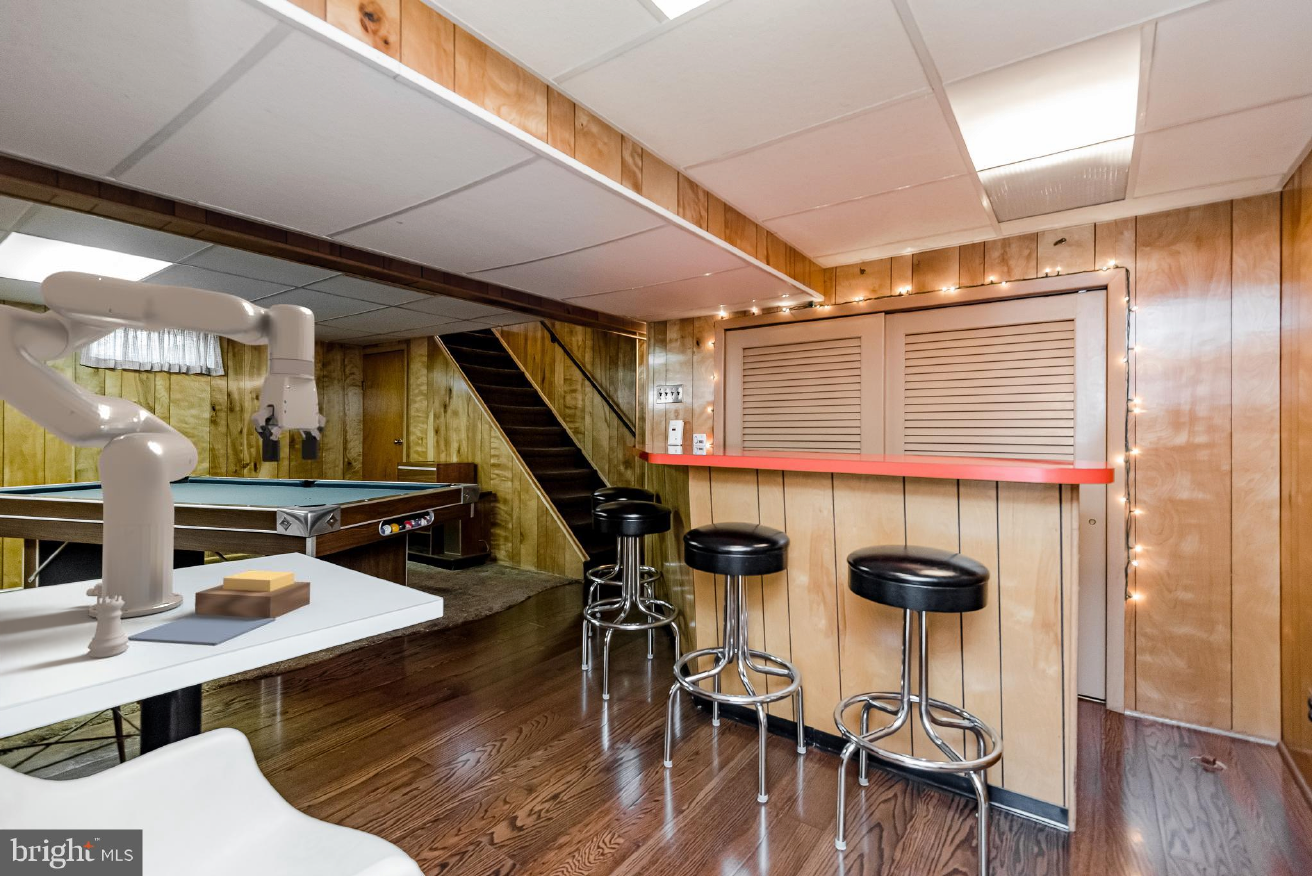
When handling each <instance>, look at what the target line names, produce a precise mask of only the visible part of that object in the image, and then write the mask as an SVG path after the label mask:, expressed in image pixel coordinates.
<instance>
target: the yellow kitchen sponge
mask: <svg viewBox="0 0 1312 876" xmlns="http://www.w3.org/2000/svg"><path fill="white" fill-rule="evenodd" d="M222 581H223V582H222V583H223V584H222V585H223V589H232V590H252V591H273V590H276V589H279V588H281V587H284V586H287V585H290V584H293V583H294V582H295V571H294V572H293V571H291V572H290V571H274V570H273V571H272V570H267V571H266V570H247V571H243V572H240V573H236V574H233V575H228V576H226V577H223V580H222Z"/></svg>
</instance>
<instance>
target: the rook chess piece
mask: <svg viewBox="0 0 1312 876" xmlns="http://www.w3.org/2000/svg"><path fill="white" fill-rule="evenodd" d="M124 603H125V602H124V601H123V600H121V596H118V598H117V596H112V599H109V597H108V596H107V597H104V600H102V598H99V599H98V600H97V599H96V603H95V604H96V605H95V604H94V605H95V606H94V608H95V609H96V610H97V611H98V615H97V616H96V617H95V619H97V625H96V628H95V629H96V630H95V634H94V636H93V637H92V640H91V641H90V642H88V643H89V644H88V646H87V649H88V650H89V651H88V652H87V653H86V655H87V656H88V657H89V658H91V659H105V658H111V657H117V656H119V655H121V654H124V653H125V652H126V651H128V649H129V648H130V645H128V643H129V641H130V640H128V637H129V636H126V633H125V632H124V631H123V628H122V621H121V618H120V616H121V615H122V612H121V611H120V608H121V607H122V606H123V604H124Z"/></svg>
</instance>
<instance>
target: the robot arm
mask: <svg viewBox="0 0 1312 876" xmlns="http://www.w3.org/2000/svg"><path fill="white" fill-rule="evenodd" d="M39 295H40V297H41V300H42V301H43V304H44V305H45V306H46V307H47V308H49V310H47V311H45V312H43V313H38V312H36V311H31V310H27V309H23V308H21V307H20V308H19V307H15V306H11V305H6V304H1V303H0V400H2V401H3V402H5V403H7V404H8V405H9V406H11V407H12V408H13V409H15V410H17V411H18V412H19V413H20V414H22V415H24V416H25V417H26V418H28V419H30V420H31V421H33V423H36V424H37V425H39V426H40V427H42V428H43V429H44V430H46V431H47V432H49V433H51V434H52V435H53V436H55V437H56V438H57V439H59V440H61V442H64V443H66V444H68V445H71V446H73V447H78V448H102V449H101V451H100V453H99V455H98V461H97V471H98V476H99V481H100V485H101V491H102V501H103V502H102V504H103V506H102V507H103V509H102V510H103V511H102V513H103V514H102V517H103V518H102V519H103V520H102V525H103V527H102V529H103V530H102V531H103V532H102V538H103V539H102V570H101V571H102V572H101V573H102V576H101V582H98V583H96V584H95V585H94V586H93V588H89V589H86V591H85V592H86V593H85V594H86V596H88V597H96V601H97V600H98V599H99V598H102V600H104V597H107V596H108V597H109V599H112V596H117V598H118V596H121V600H123V601H124V602H125V603H124V604H123V606H122V607H121V608H120V611H121V612H122V615H121V616H120V619H122V618H131V617H132V618H133V617H134V618H135V617H141V616H146V615H147V616H148V615H151V614H156V613H161V612H165V611H168V610H172V609H175V608H177V607H179V606H181V605H182V604H183V603H184V596H183V595H182V594H180V593H175V592H174V593H173V586H174V585H173V584H174V583H173V582H174V581H173V579H174V577H173V576H174V545H175V544H174V543H175V542H174V541H175V540H174V537H175V502H174V501H175V500H174V495H173V492H172V487H171V483H170V482H175V481H179V480H182V479H184V478H185V477H188V476H189V475H190V474H191V473H192V472H193V471H194V470H195V469H196V468H197V465H198V460H199V453H198V450H197V448H196V446H195V444H193V442H192V441H191V440H190V439H189V438H188V437H187V436H185V435H184V434H183V433H181V432H180V431H178V430H177V429H175V428H174V427H173V426H171V425H170V424H168V423H167V422H165V421H164V420H162V419H161V418H159V417H158V416H156V415H155V414H154V413H152V412H151V411H149V410H148V409H146V408H145V407H143V406H142V405H139V404H138V403H136V402H134V401H132V400H129V399H126V398H123V397H119V396H113V395H112V396H111V395H102V394H98V393H95V392H92V391H90V390H88V389H86V388H84V387H83V386H81V385H80V384H78V383H76V382H75V381H74V380H71V379H70V378H69V377H68V376H67V375H65V374H64V373H62V372H61V371H59V370H57V368H54V367H53V366H50V365H48V364H46V363H45V362H55V361H57V360H58V361H59V360H62V359H64V358H66V357H69V356H71V355H73V354H76V353H77V352H79V351H81V350H83V349H85V348H86V347H88V346H90V345H92V344H94V343H96V342H97V341H100V340H101V339H103V338H105V337H107V336H109V335H110V334H112V333H114V332H116V331H117V330H119V329H121V328H126V329H133V330H140V331H145V332H153V333H159V332H161V331H163V330H166V329H174V330H183V331H191V332H197V333H203V334H208V335H209V334H210V335H215V336H220V337H225V338H227V339H230V340H233V341H236V342H238V343H241V344H244V345H247V346H248V345H250V346H260V345H261V346H263V345H267V375H265V376H264V379H263V382H262V387H261V392H260V398H259V399H260V401H259V410H258V411H257V412H255V413H253V414H252V415H251V416H250V418H251V421H252V423H253V426H254V430H255V432H256V433H257V434H258V439H259V440H260V441H261V461H262V462H263V463H279V462H280V461H281V440H280V439H278V438H279V437H280V435H281V434H282V432H283V431H299V432H300V433H301V435H302V437H303V438H304V439H302V440H301V459H302V460H304V461H309V460H310V461H315V460H316V461H317V460H319V440H320V439H322V438H321V436H322V433H323V432H324V427H325V424H326V421H327V418H326V417H325V416H324V415H322V414H321V413H320V412H319V400H318V391H317V385H316V380H315V315H314V312H313V311H312V310H311V309H310V308H308V307H305V306H301V305H298V304H297V305H296V304H287V303H286V304H284V303H283V304H282V303H281V304H273V305H271V306H270V308H266V307H265V308H264V307H262V306H259V305H255V304H254V303H253V302H250V301H249V300H246V299H244V298H242V297H239V296H237V295H233V294H230V293H229V294H228V293H224V292H219V291H212V290H207V289H201V288H195V287H189V286H180V285H166V284H154V283H148V282H143V281H142V282H141V281H136V280H131V279H124V278H118V277H113V276H112V277H111V276H107V275H99V274H95V273H90V272H89V273H87V272H82V271H72V270H67V271H66V270H64V271H63V270H62V271H58V272H57V271H56V272H55V273H51V274H49V275H48V276H46V277H45V279H43V280H42V282H41V284H40V287H39ZM96 604H97V603H95V604H93V605H91V606H89V608H88V614H89V616H90V617H91V618H92V617H93V618H96V616H97V615H98V611H97V610H96V609H95V608H94V606H95V605H96Z"/></svg>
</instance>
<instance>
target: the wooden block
mask: <svg viewBox="0 0 1312 876" xmlns="http://www.w3.org/2000/svg"><path fill="white" fill-rule="evenodd" d="M194 594H195V596H194V597H195V599H194V603H195V604H194V614H204V615H222V616H240V617H259V618H278V617H281V616H283V615H285V614H288V613H290V612H292V611H295V610H297V609H299V608H302V607H305V606H307V605H309V604H310V603H311V582H308V581H294V583H293V584H290V585H287V586H284V587H281V588H279V589H276V590H273V591H252V590H232V589H223V584H220V585H217V586H213V587H211V588H207V589H204V590H200V591H197V592H195V593H194Z"/></svg>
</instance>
